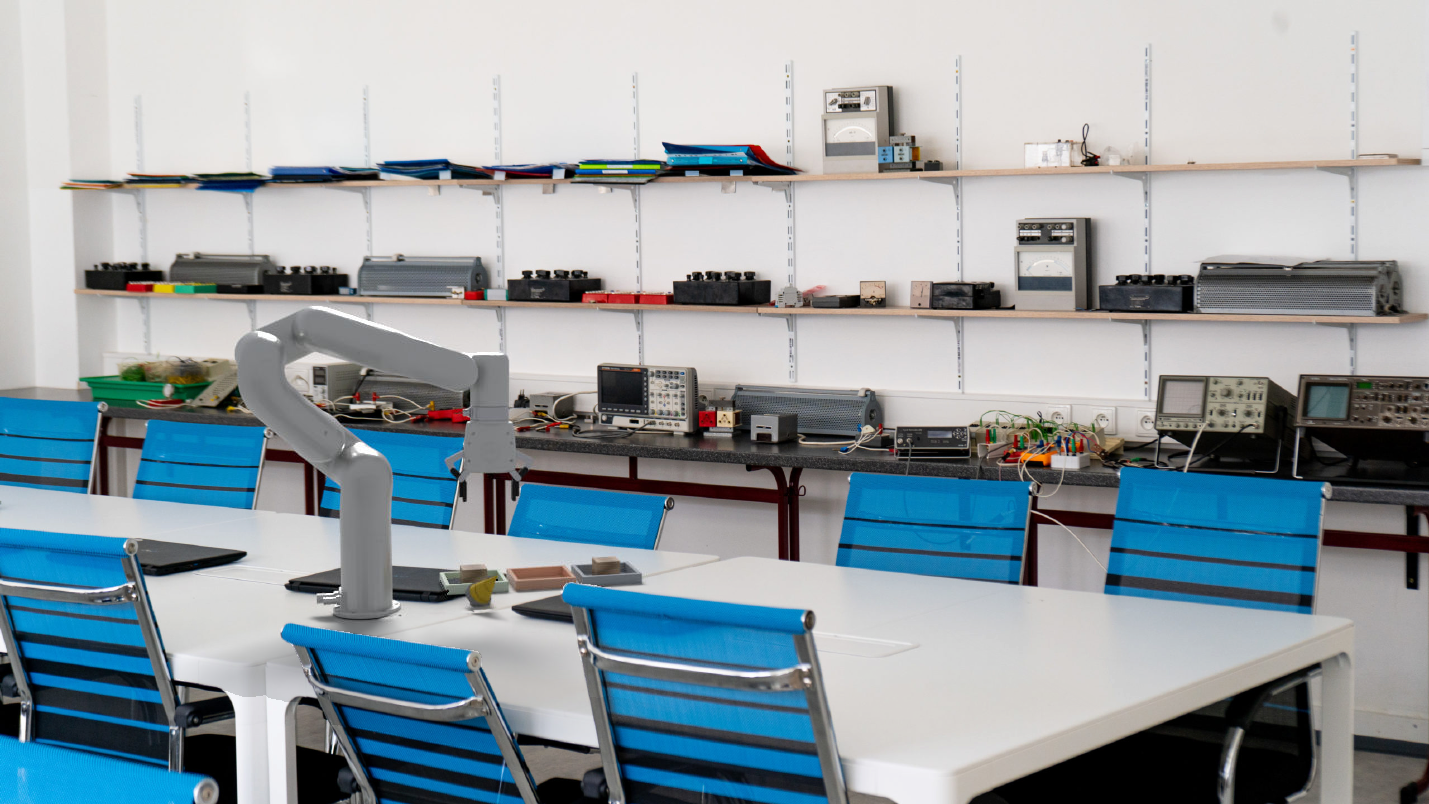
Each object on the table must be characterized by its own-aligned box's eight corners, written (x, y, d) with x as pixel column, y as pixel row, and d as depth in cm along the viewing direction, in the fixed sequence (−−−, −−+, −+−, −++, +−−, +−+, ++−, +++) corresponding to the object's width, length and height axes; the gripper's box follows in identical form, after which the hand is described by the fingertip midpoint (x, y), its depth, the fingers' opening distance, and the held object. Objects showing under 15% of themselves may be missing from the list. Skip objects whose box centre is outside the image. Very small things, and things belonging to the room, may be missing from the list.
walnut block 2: (597, 581, 279) (596, 562, 278) (592, 576, 283) (591, 557, 283) (620, 579, 280) (620, 561, 280) (614, 574, 285) (614, 556, 284)
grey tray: (582, 588, 274) (582, 577, 274) (571, 576, 286) (571, 564, 286) (641, 585, 278) (641, 573, 277) (627, 572, 290) (627, 561, 289)
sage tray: (446, 597, 266) (445, 585, 265) (439, 584, 278) (439, 572, 277) (508, 593, 269) (508, 581, 269) (499, 580, 281) (499, 569, 281)
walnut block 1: (462, 589, 270) (462, 570, 270) (460, 584, 275) (459, 565, 275) (487, 587, 272) (487, 568, 271) (484, 582, 277) (484, 563, 276)
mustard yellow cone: (483, 604, 263) (511, 574, 258) (477, 621, 258) (505, 591, 254) (461, 589, 261) (489, 559, 257) (454, 606, 257) (482, 576, 252)
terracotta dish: (515, 593, 270) (515, 581, 270) (506, 580, 282) (506, 568, 282) (576, 589, 273) (576, 577, 273) (564, 576, 285) (564, 565, 285)
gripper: (445, 416, 255) (445, 504, 256) (535, 416, 259) (534, 502, 261) (444, 413, 262) (444, 498, 264) (531, 413, 266) (530, 497, 268)
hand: (489, 500), depth 262 cm, fingers open, 9 cm apart
